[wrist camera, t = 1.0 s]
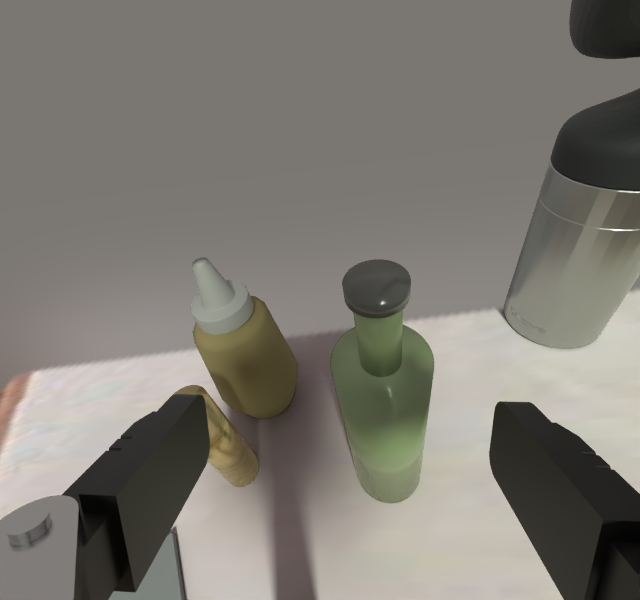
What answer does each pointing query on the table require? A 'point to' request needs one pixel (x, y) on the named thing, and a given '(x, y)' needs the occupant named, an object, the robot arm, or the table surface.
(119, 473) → the robot arm
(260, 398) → the squeeze bottle
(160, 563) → the grey coaster
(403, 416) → the olive bottle
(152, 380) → the table surface
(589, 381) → the table surface
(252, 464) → the brass rod
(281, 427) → the table surface
